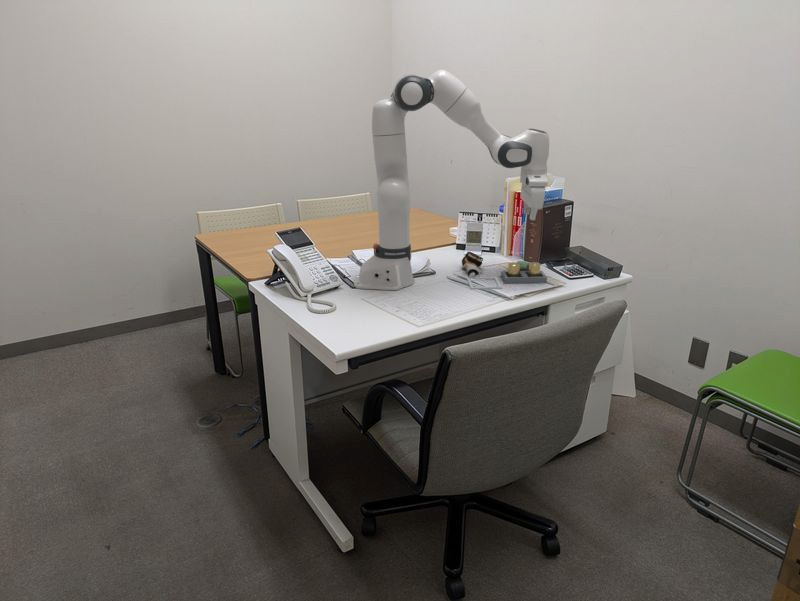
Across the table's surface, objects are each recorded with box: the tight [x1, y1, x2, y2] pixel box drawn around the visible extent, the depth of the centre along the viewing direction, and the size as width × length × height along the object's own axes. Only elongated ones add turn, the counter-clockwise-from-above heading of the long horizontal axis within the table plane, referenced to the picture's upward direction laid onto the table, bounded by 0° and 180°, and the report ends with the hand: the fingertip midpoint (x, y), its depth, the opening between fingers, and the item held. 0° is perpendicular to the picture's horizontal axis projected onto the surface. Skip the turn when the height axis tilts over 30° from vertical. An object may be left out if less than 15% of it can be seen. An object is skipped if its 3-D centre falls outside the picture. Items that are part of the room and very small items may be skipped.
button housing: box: [519, 262, 530, 271], centre depth 207 cm, size 7×7×4 cm
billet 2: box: [528, 261, 542, 277], centre depth 199 cm, size 4×4×6 cm
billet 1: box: [507, 261, 520, 277], centre depth 199 cm, size 4×4×6 cm
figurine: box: [461, 251, 484, 278], centre depth 208 cm, size 9×8×15 cm
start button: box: [516, 260, 529, 268], centre depth 207 cm, size 4×4×4 cm
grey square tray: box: [466, 276, 503, 290], centre depth 197 cm, size 11×11×2 cm
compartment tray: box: [499, 270, 549, 285], centre depth 200 cm, size 16×9×3 cm, turn 90°
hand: (529, 216), depth 195 cm, fingers open, 8 cm apart
